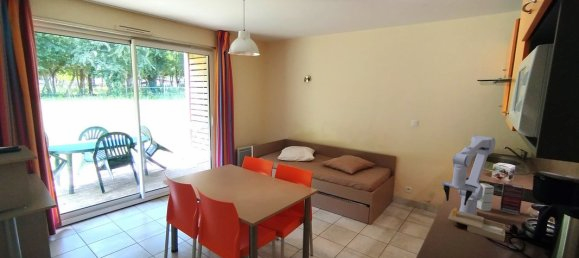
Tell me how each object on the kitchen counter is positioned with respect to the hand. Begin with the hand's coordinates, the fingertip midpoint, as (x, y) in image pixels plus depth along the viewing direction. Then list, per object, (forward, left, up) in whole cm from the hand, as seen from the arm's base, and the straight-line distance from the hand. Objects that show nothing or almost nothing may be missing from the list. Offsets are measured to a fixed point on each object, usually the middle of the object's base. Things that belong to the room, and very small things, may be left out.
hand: (456, 202), depth 136 cm
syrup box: (-30, +10, -11) cm, 34 cm away
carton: (0, +13, -10) cm, 17 cm away
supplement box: (-36, +22, -11) cm, 44 cm away
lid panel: (0, +5, -7) cm, 9 cm away
